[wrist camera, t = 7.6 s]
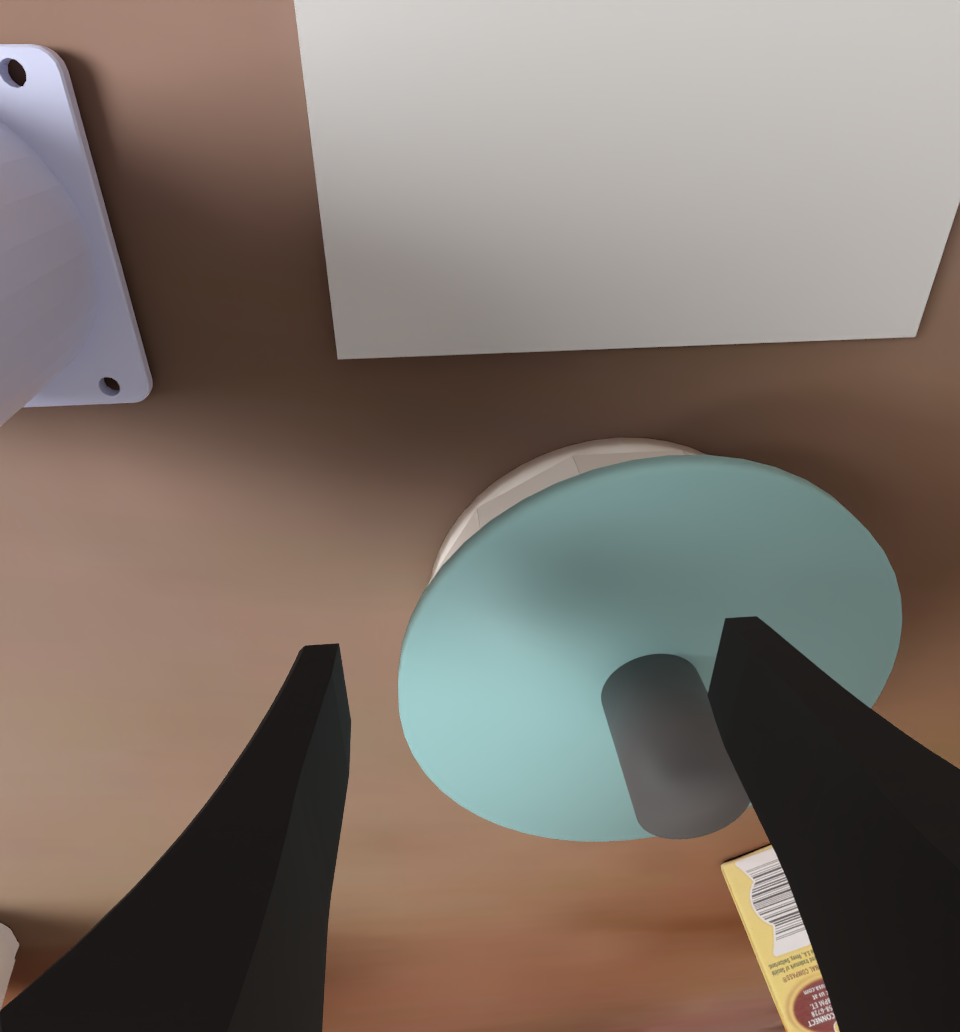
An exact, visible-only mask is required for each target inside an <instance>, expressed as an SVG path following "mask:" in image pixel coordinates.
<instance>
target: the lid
mask: <svg viewBox="0 0 960 1032" xmlns="http://www.w3.org/2000/svg"><path fill="white" fill-rule="evenodd" d="M751 616H757V617H758V618H760V619H761V620H762V621H764V622H765V623H766V624H767V625H768V626H770V627H771V628H772V629H773V630H775V631H776V632H777V633H778V634H779V635H781V636H782V637H783V638H784V639H785V640H786V641H788V642H789V643H790V644H791V645H792V646H794V647H795V648H796V649H797V650H798V651H800V652H801V653H802V654H803V655H804V656H806V657H807V658H808V659H809V660H810V661H812V662H813V663H814V664H815V665H816V666H818V667H819V668H820V669H821V670H822V671H824V672H825V673H826V674H827V675H829V676H830V677H831V678H832V679H833V680H835V681H836V682H837V683H838V684H840V685H841V686H842V687H843V688H845V689H846V690H847V691H849V692H850V693H851V694H852V695H854V696H855V697H856V698H857V699H859V700H860V701H861V702H863V703H864V704H865V705H867V706H868V707H869V708H872V706H873V705H874V703H875V701H876V700H877V698H878V697H879V695H880V694H881V692H882V690H883V688H884V686H885V683H886V681H887V679H888V677H889V675H890V673H891V671H892V668H893V665H894V662H895V658H896V655H897V652H898V648H899V644H900V636H901V629H902V604H901V595H900V591H899V587H898V583H897V579H896V575H895V573H894V571H893V569H892V566H891V564H890V562H889V560H888V558H887V556H886V554H885V552H884V551H883V549H882V548H881V547H880V545H879V544H878V543H877V541H876V540H875V539H874V537H873V536H872V535H871V534H870V532H869V531H868V530H867V529H866V528H865V527H864V526H863V525H862V524H861V523H860V522H859V521H858V520H857V519H856V518H855V517H854V516H853V515H852V514H851V513H850V512H849V511H848V510H847V509H846V508H845V507H844V506H843V505H841V504H840V503H839V502H838V501H837V500H836V499H835V498H834V497H832V496H831V495H830V494H828V493H827V492H825V491H824V490H822V489H820V488H819V487H817V486H815V485H814V484H812V483H811V482H809V481H807V480H806V479H803V478H801V477H799V476H796V475H794V474H791V473H789V472H787V471H784V470H782V469H779V468H777V467H774V466H770V465H766V464H762V463H758V462H754V461H750V460H746V459H740V458H731V457H723V456H714V455H667V456H659V457H651V458H644V459H636V460H630V461H626V462H621V463H617V464H613V465H609V466H605V467H601V468H597V469H593V470H590V471H587V472H585V473H582V474H579V475H576V476H574V477H571V478H568V479H566V480H563V481H560V482H557V483H555V484H553V485H551V486H549V487H547V488H545V489H543V490H541V491H539V492H537V493H535V494H533V495H531V496H529V497H527V498H525V499H523V500H521V501H520V502H518V503H517V504H515V505H513V506H512V507H510V508H509V509H507V510H506V511H504V512H503V513H501V514H500V515H498V516H496V517H495V518H493V519H492V520H490V521H489V522H488V523H487V524H486V525H484V526H483V527H482V528H481V529H480V530H478V531H477V532H476V533H475V534H474V535H472V536H471V537H470V538H469V539H468V540H466V541H465V542H464V543H463V544H462V545H461V546H460V547H459V548H458V549H457V550H456V551H455V553H454V554H453V555H452V556H451V557H450V558H449V559H448V560H447V561H446V562H445V563H444V564H443V565H442V566H441V568H440V569H439V571H438V572H437V573H436V575H435V576H434V578H433V579H432V580H431V582H430V583H429V585H428V586H427V588H426V589H425V590H424V592H423V594H422V596H421V598H420V600H419V601H418V603H417V605H416V607H415V609H414V611H413V613H412V615H411V617H410V620H409V623H408V626H407V629H406V633H405V636H404V639H403V642H402V647H401V654H400V661H399V675H398V694H399V714H400V718H401V723H402V727H403V731H404V736H405V738H406V740H407V742H408V745H409V747H410V749H411V751H412V754H413V756H414V757H415V759H416V760H417V762H418V763H419V765H420V766H421V768H422V769H423V771H424V772H425V774H426V775H427V776H428V777H429V778H430V779H431V780H432V781H433V782H434V783H435V785H436V786H437V787H438V788H439V789H440V790H441V791H442V792H444V793H445V794H446V795H448V796H449V797H450V798H451V799H453V800H454V801H455V802H456V803H458V804H459V805H461V806H462V807H464V808H466V809H468V810H469V811H471V812H473V813H474V814H476V815H478V816H480V817H482V818H484V819H486V820H489V821H491V822H493V823H496V824H498V825H500V826H503V827H506V828H510V829H513V830H516V831H519V832H523V833H526V834H531V835H536V836H541V837H546V838H552V839H561V840H571V841H598V842H605V841H621V840H633V839H641V838H648V837H655V836H658V837H661V838H666V839H690V838H696V837H700V836H704V835H707V834H710V833H713V832H716V831H718V830H720V829H722V828H724V827H726V826H727V825H729V824H730V823H732V822H733V821H735V820H736V819H737V818H738V817H739V816H740V815H741V814H742V813H743V812H744V811H745V810H746V809H747V808H748V807H750V806H752V804H751V802H750V799H749V797H748V795H747V793H746V791H745V789H744V787H743V785H742V783H741V781H740V779H739V777H738V774H737V772H736V770H735V768H734V766H733V764H732V762H731V760H730V758H729V755H728V753H727V751H726V749H725V747H724V744H723V741H722V739H721V736H720V733H719V730H718V727H717V724H716V721H715V718H714V715H713V712H712V708H711V705H710V702H709V699H708V696H707V695H708V691H709V686H710V682H711V678H712V673H713V669H714V665H715V660H716V656H717V652H718V647H719V643H720V638H721V634H722V630H723V625H724V621H725V618H736V617H751Z"/></svg>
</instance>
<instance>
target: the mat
mask: <svg viewBox="0 0 960 1032" xmlns="http://www.w3.org/2000/svg"><path fill="white" fill-rule="evenodd" d="M294 4H295V12H296V20H297V28H298V37H299V45H300V53H301V61H302V69H303V78H304V86H305V94H306V102H307V111H308V119H309V127H310V135H311V144H312V152H313V160H314V168H315V176H316V185H317V193H318V201H319V209H320V218H321V226H322V234H323V242H324V250H325V259H326V267H327V275H328V283H329V292H330V300H331V308H332V316H333V325H334V333H335V341H336V349H337V357H338V359H362V358H387V357H413V356H439V355H465V354H490V353H516V352H542V351H568V350H593V349H619V348H645V347H670V346H696V345H722V344H748V343H773V342H799V341H825V340H851V339H876V338H902V337H915V336H916V333H917V330H918V327H919V324H920V321H921V318H922V315H923V312H924V309H925V306H926V303H927V300H928V297H929V294H930V291H931V287H932V284H933V281H934V278H935V275H936V272H937V269H938V266H939V263H940V260H941V257H942V254H943V251H944V248H945V245H946V242H947V239H948V236H949V232H950V229H951V226H952V223H953V220H954V217H955V214H956V211H957V208H958V205H959V202H960V0H294Z"/></svg>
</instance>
